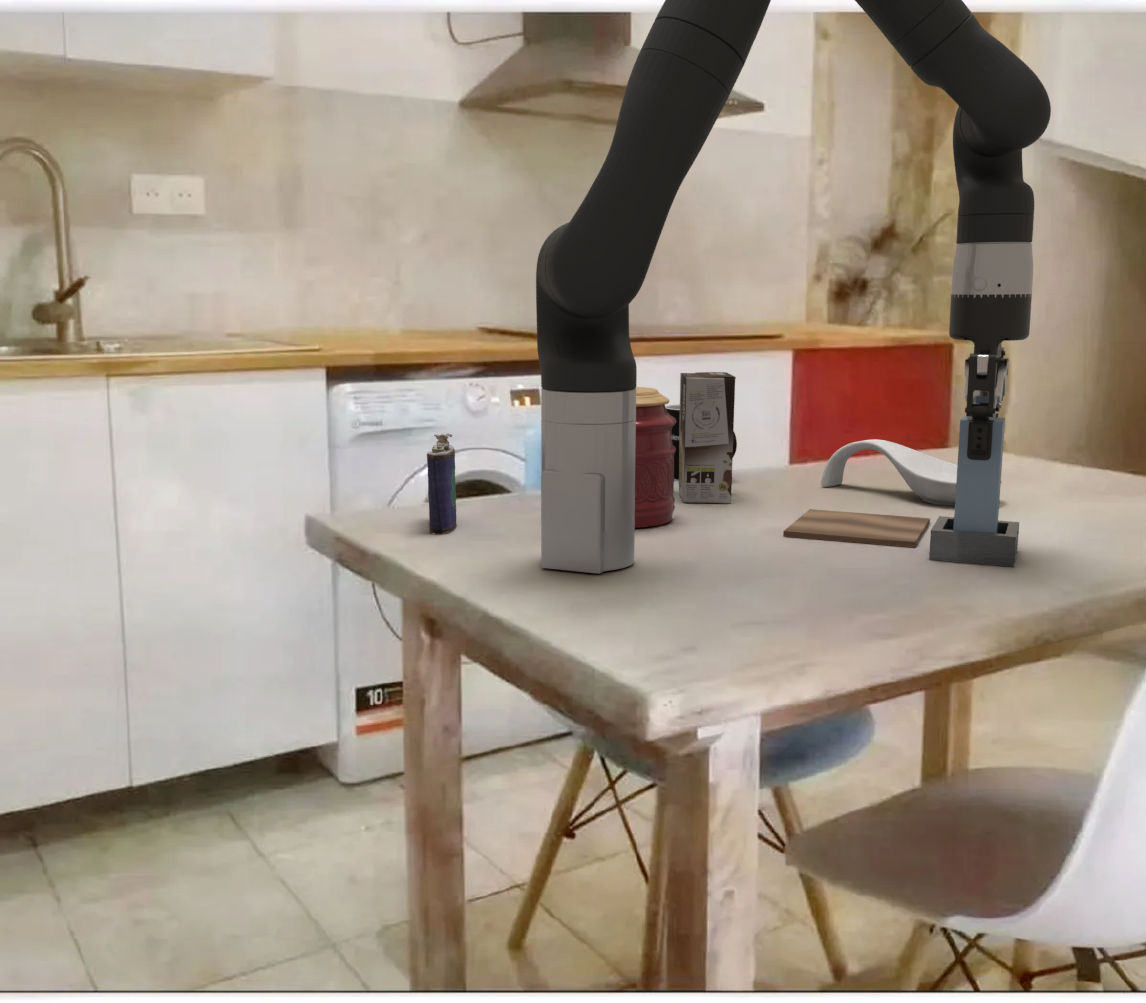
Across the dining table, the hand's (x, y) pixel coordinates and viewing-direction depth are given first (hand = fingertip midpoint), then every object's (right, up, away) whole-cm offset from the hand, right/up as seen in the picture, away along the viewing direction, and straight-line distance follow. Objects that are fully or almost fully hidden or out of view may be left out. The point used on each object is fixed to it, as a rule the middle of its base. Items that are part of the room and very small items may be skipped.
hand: (981, 453), depth 117 cm
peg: (0, -10, +2) cm, 10 cm away
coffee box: (-24, -4, +34) cm, 42 cm away
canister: (-36, -7, +20) cm, 42 cm away
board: (-9, -8, +14) cm, 19 cm away
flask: (-56, -8, +16) cm, 59 cm away
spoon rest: (+3, -5, +36) cm, 36 cm away
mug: (-23, -2, +50) cm, 55 cm away
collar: (0, -10, +2) cm, 10 cm away
